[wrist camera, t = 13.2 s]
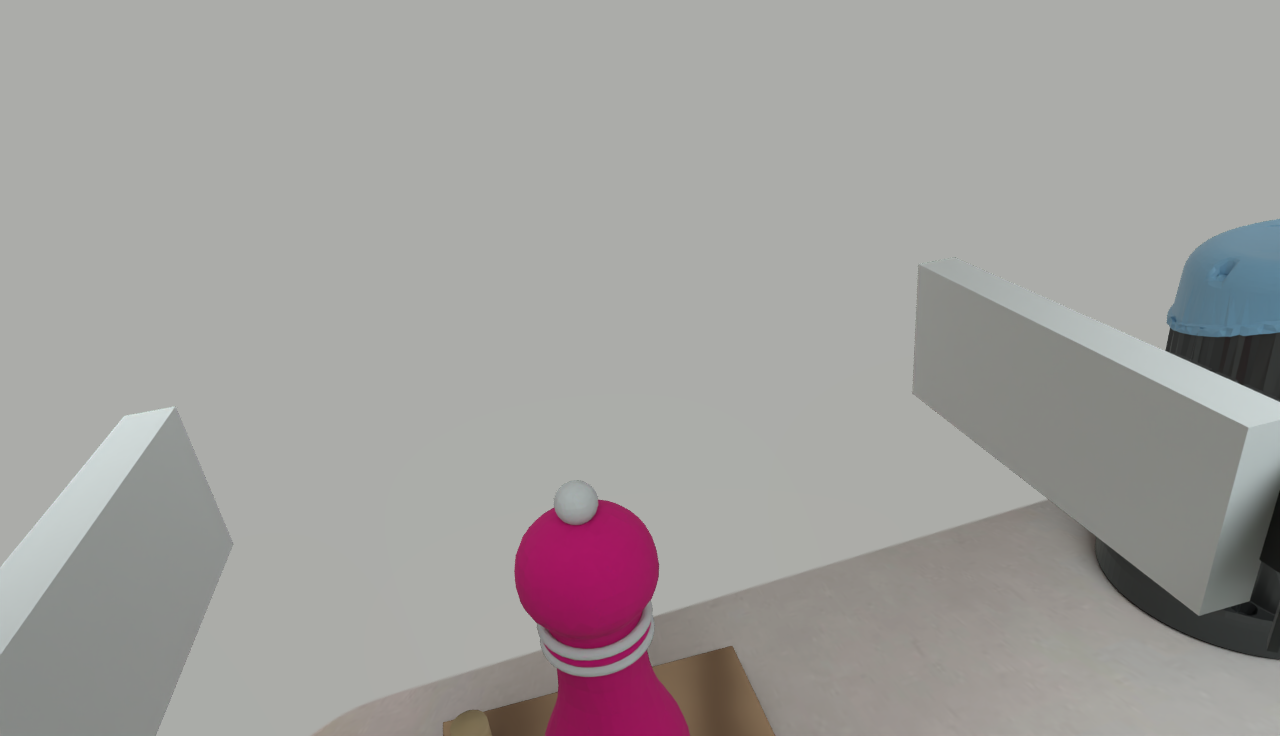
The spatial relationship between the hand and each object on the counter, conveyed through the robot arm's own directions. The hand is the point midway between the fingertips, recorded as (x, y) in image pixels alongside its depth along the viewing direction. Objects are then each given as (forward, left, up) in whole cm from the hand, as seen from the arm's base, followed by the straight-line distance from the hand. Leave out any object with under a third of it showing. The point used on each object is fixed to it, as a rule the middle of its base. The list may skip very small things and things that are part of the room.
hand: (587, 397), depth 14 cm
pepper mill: (0, -14, -31) cm, 34 cm away
